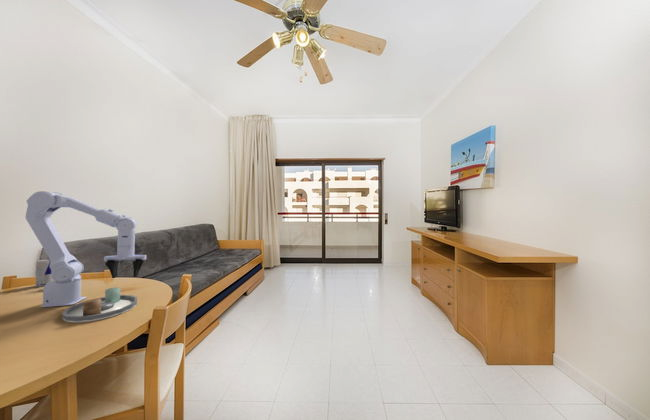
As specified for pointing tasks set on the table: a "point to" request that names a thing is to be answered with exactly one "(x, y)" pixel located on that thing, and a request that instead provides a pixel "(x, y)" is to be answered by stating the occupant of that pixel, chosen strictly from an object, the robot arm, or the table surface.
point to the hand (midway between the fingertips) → (125, 276)
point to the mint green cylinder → (112, 295)
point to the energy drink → (43, 272)
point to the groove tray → (107, 310)
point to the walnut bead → (92, 307)
